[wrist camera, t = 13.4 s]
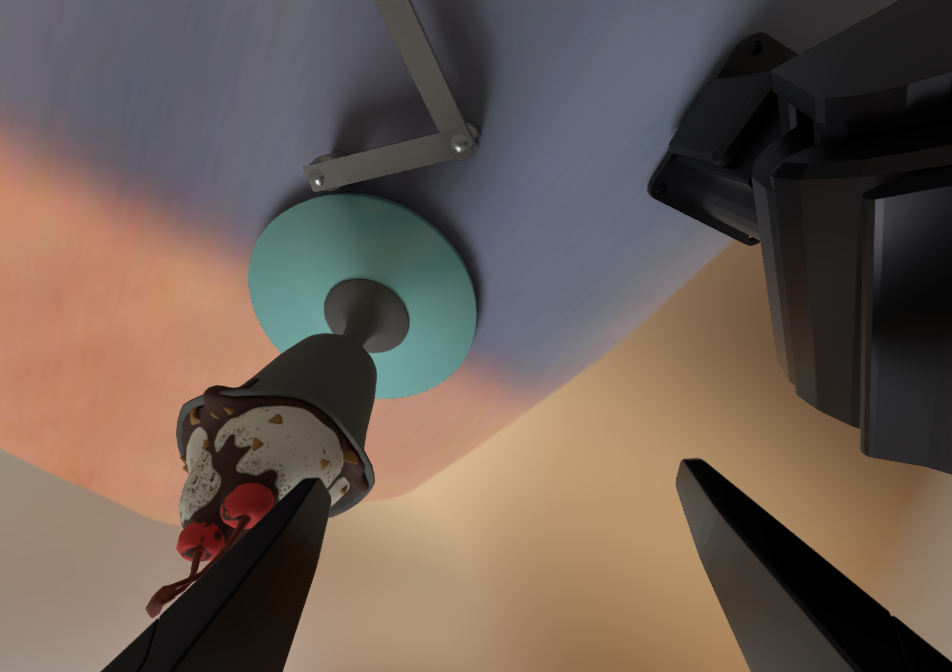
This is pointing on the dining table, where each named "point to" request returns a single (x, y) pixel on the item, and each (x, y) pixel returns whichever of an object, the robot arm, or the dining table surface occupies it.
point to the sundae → (284, 428)
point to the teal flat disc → (374, 258)
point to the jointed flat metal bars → (434, 88)
